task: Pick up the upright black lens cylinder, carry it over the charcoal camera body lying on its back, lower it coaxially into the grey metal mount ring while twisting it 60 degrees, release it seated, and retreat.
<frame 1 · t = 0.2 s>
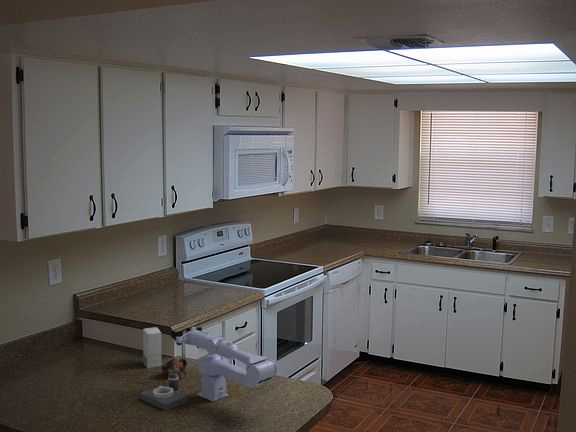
hand: (179, 332, 271), 21 cm above the worktop, tool horizontal, fingers open, 7 cm apart
lens: (173, 388, 267), on the worktop
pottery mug: (176, 375, 282), on the worktop
camera body: (163, 400, 255), on the worktop
skincare box: (152, 364, 295), on the worktop
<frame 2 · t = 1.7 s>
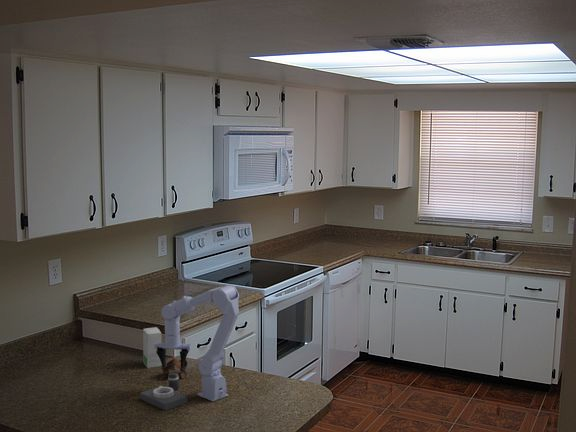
hand: (173, 366, 266), 9 cm above the worktop, tool pointing down, fingers open, 7 cm apart
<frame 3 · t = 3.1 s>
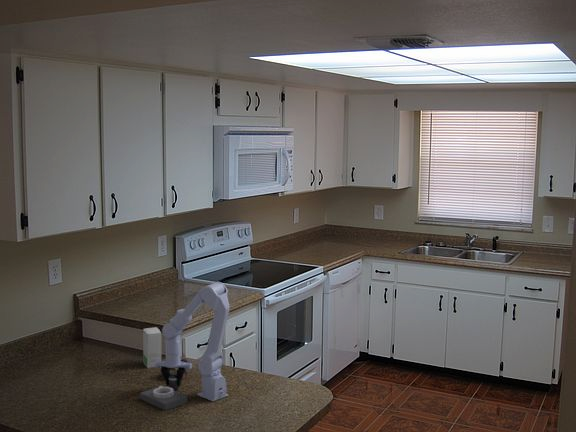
hand: (173, 385, 266), 1 cm above the worktop, tool pointing down, fingers closed on lens, 4 cm apart
lens: (173, 388, 267), on the worktop, touching gripper
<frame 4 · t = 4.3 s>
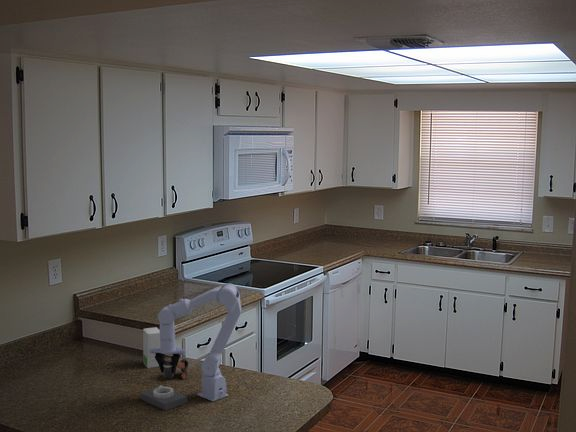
hand: (168, 372, 260), 9 cm above the worktop, tool pointing down, fingers closed on lens, 4 cm apart
lens: (168, 376, 260), point 7 cm above the worktop, touching gripper
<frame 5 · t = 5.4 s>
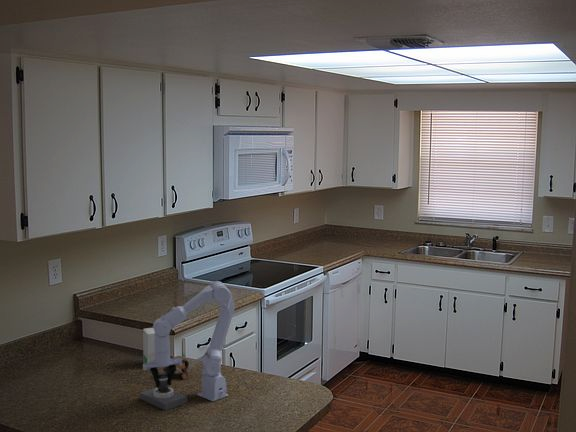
hand: (163, 385, 254), 6 cm above the worktop, tool pointing down, fingers closed on lens, 4 cm apart
lens: (163, 389, 254), point 4 cm above the worktop, touching gripper
when the fingers open (5 cm above the worktop, at t = 6.0 s): lens drops 1 cm, resting on camera body.
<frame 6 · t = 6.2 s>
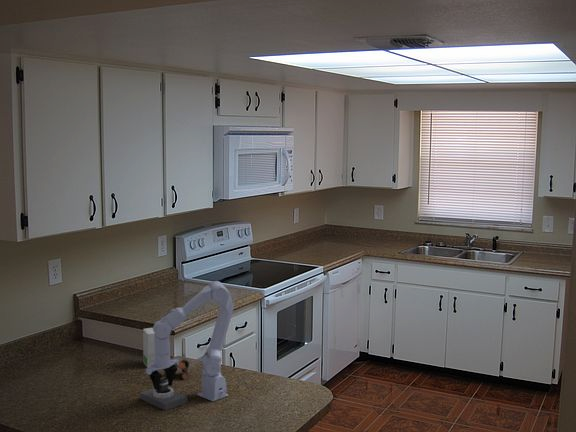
hand: (163, 387, 254), 5 cm above the worktop, tool pointing down, fingers open, 5 cm apart
lens: (163, 394, 255), point 3 cm above the worktop, touching camera body
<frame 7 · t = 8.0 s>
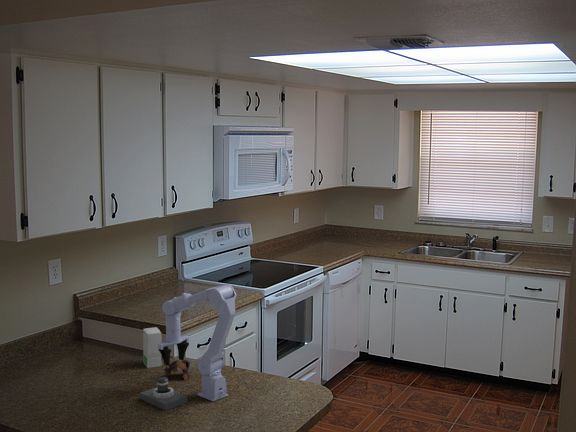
hand: (174, 362, 268), 10 cm above the worktop, tool pointing down, fingers open, 7 cm apart
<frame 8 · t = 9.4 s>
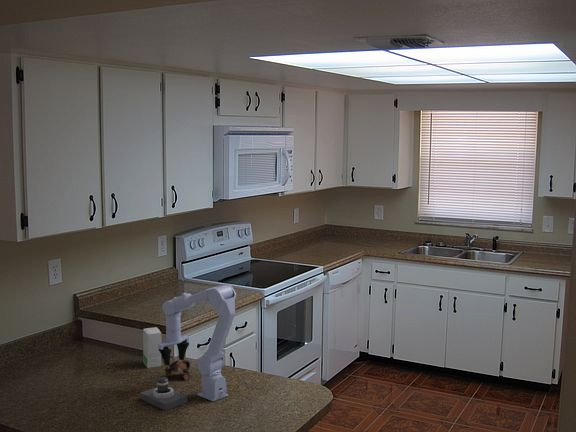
hand: (174, 362, 268), 10 cm above the worktop, tool pointing down, fingers open, 7 cm apart
at the end: lens 0.3 cm off-centre on the camera body, point 2.5 cm above the camera body's base; lens tilted 0°; the gripper is holding nothing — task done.
